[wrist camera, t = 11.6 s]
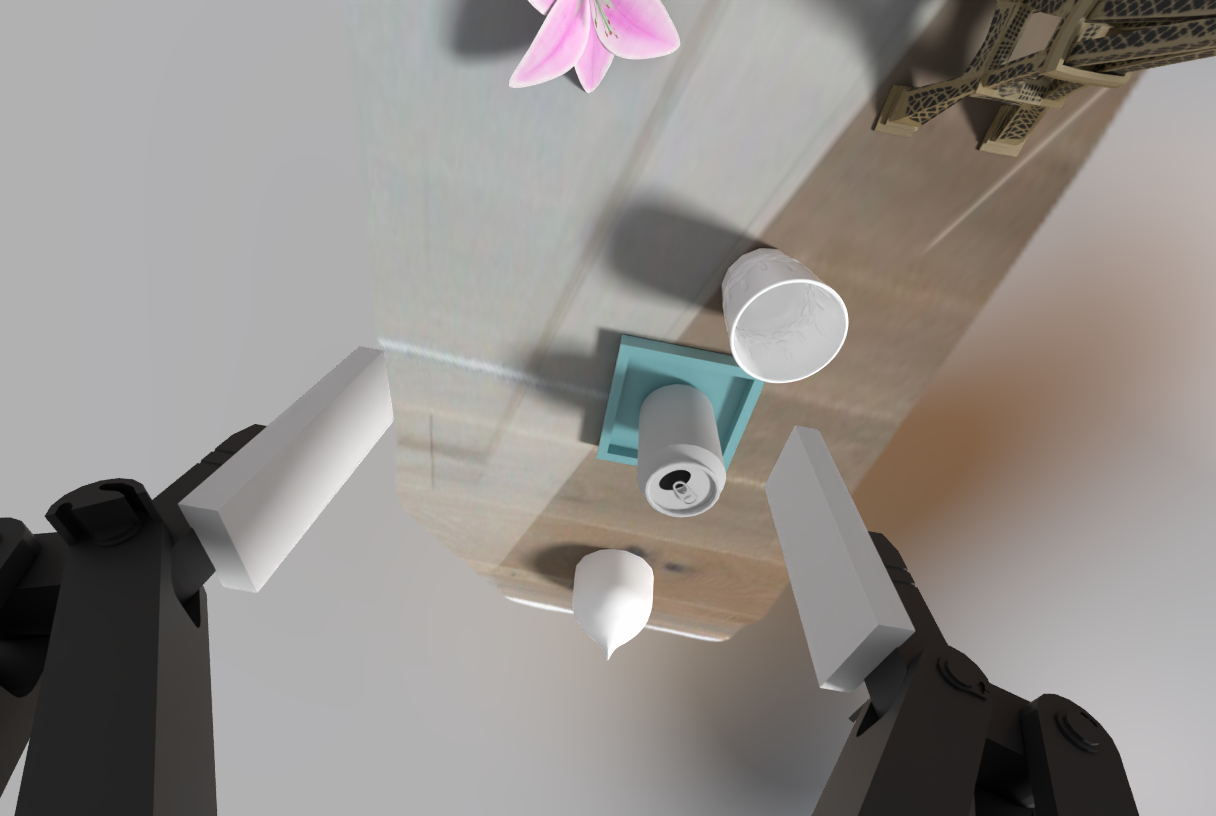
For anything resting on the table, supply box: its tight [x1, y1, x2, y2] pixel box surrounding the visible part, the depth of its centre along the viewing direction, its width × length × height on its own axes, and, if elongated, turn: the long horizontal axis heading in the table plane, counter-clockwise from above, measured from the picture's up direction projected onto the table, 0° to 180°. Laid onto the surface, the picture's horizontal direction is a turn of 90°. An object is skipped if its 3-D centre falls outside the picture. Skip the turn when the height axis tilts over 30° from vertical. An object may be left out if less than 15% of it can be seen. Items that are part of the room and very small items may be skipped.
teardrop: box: [572, 549, 654, 660], centre depth 60 cm, size 11×11×12 cm
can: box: [637, 384, 726, 517], centre depth 43 cm, size 8×8×12 cm
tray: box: [597, 334, 765, 473], centre depth 47 cm, size 14×14×2 cm
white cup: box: [721, 248, 848, 383], centre depth 36 cm, size 8×8×10 cm
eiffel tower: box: [874, 0, 1216, 157], centre depth 20 cm, size 11×11×25 cm
